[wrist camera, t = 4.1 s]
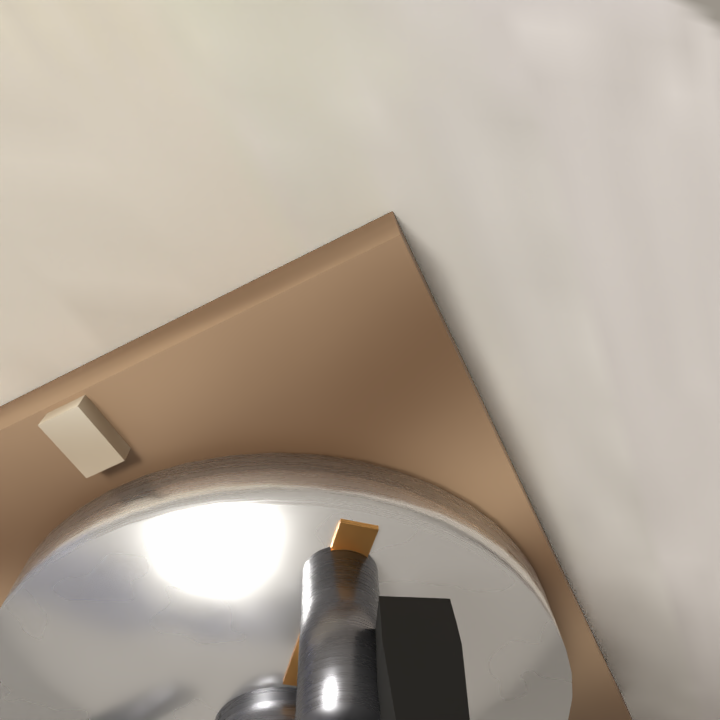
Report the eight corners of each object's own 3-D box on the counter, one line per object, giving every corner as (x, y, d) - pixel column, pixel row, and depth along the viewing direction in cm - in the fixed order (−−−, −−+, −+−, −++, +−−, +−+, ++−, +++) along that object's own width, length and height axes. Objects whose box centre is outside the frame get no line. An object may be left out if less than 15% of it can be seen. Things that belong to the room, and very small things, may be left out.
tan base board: (-160, 486, 14) (-226, 547, 12) (392, 210, 12) (402, 241, 10) (235, 819, 22) (227, 885, 20) (621, 695, 19) (649, 759, 17)
